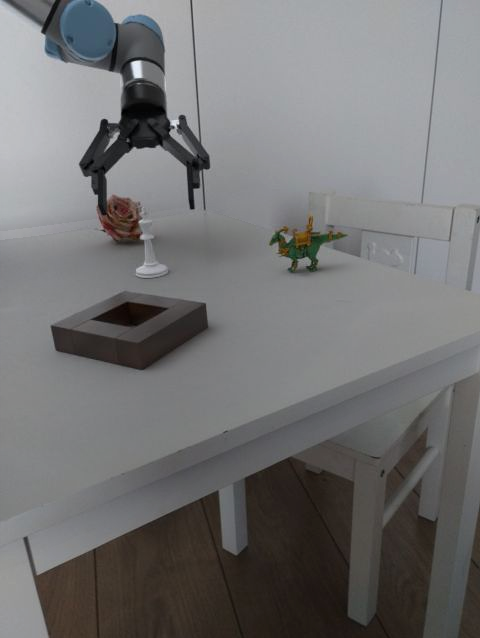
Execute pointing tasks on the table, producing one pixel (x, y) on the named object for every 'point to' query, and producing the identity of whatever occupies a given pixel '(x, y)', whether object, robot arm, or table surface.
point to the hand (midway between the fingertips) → (147, 207)
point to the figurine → (303, 244)
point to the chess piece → (149, 251)
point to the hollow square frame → (130, 328)
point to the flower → (121, 218)
